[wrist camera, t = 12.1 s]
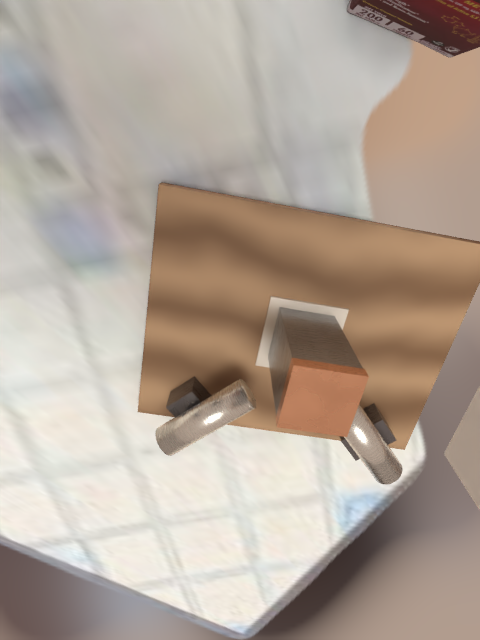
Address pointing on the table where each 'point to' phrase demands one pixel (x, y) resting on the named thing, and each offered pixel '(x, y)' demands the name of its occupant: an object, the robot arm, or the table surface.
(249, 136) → the table surface
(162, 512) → the table surface
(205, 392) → the shaft
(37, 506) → the table surface
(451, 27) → the supplement box
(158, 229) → the cradle board
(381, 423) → the shaft
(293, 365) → the block
